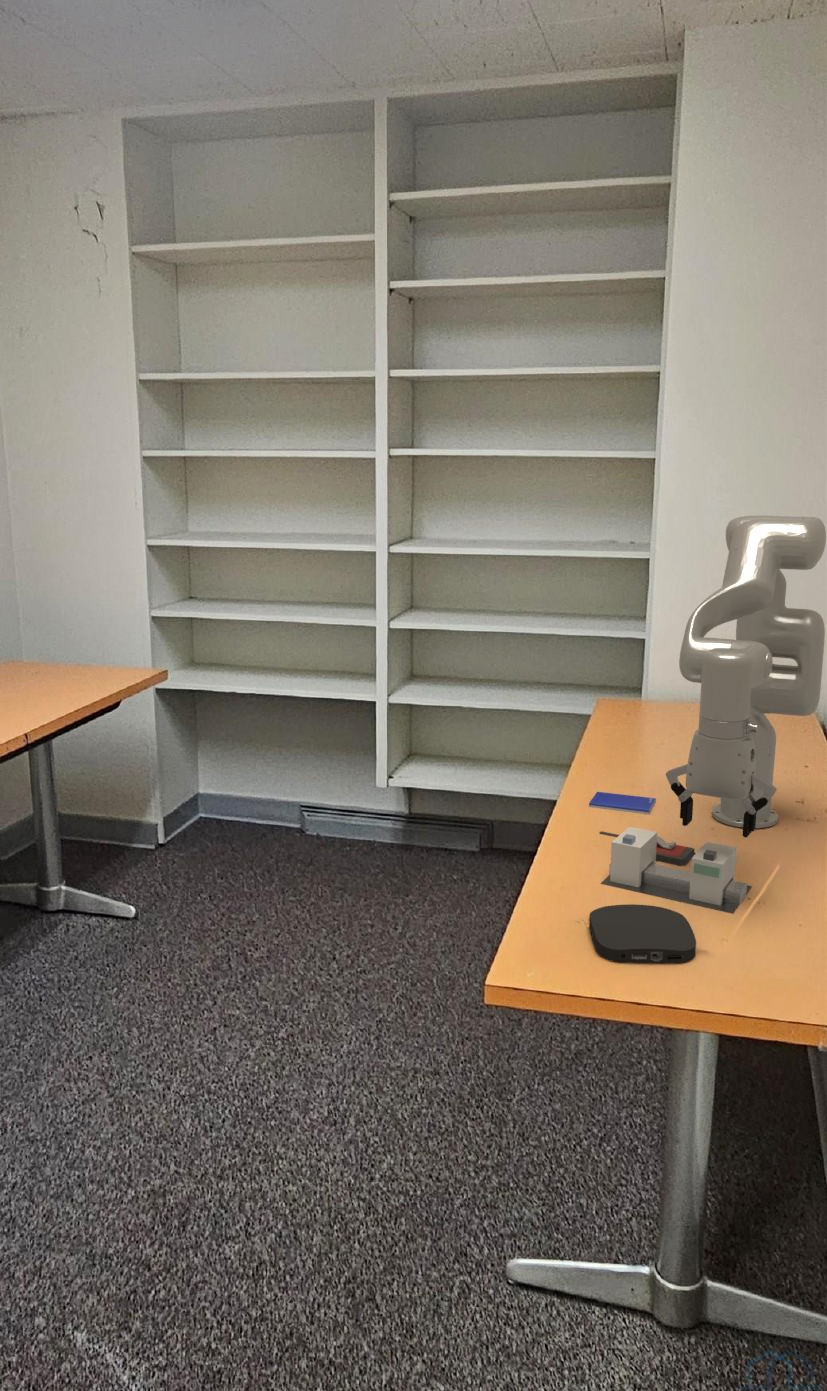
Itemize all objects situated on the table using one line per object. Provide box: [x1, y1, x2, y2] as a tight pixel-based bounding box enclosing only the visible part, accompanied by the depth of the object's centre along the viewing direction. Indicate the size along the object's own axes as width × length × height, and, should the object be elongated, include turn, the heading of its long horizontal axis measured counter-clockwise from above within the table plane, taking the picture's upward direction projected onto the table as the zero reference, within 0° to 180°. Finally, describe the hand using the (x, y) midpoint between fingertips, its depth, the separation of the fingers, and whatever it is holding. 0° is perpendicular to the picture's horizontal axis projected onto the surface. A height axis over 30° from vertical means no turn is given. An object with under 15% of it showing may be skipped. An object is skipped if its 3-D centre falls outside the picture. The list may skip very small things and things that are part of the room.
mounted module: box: [610, 826, 658, 887], centre depth 171 cm, size 8×5×8 cm, turn 148°
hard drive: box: [588, 791, 657, 816], centre depth 210 cm, size 2×8×12 cm
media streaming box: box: [588, 903, 697, 965], centre depth 151 cm, size 15×15×3 cm
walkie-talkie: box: [599, 830, 697, 867], centre depth 184 cm, size 9×4×20 cm
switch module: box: [689, 841, 738, 905], centre depth 164 cm, size 9×5×8 cm, turn 149°
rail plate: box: [600, 862, 753, 915], centre depth 168 cm, size 12×22×3 cm, turn 58°
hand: (716, 828), depth 163 cm, fingers open, 9 cm apart
